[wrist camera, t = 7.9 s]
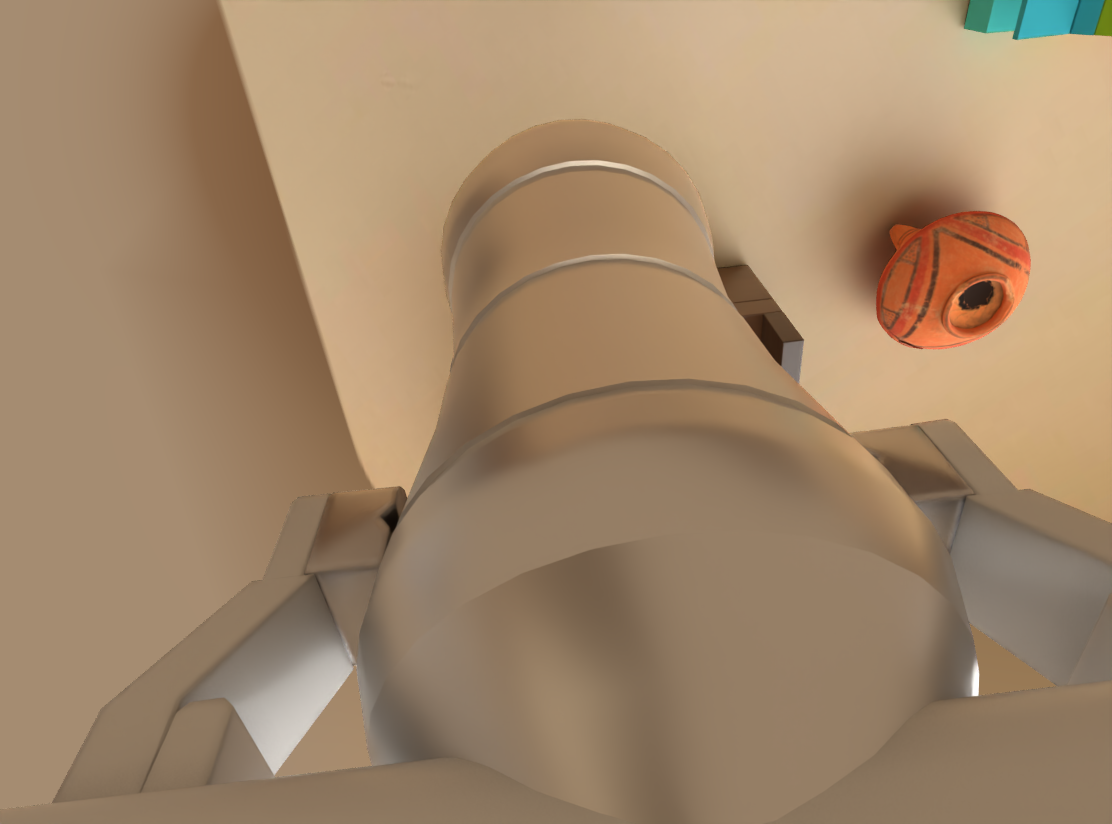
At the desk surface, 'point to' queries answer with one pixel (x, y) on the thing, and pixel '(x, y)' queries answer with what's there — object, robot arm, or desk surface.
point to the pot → (952, 279)
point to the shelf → (764, 317)
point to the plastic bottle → (641, 521)
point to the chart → (1040, 17)
